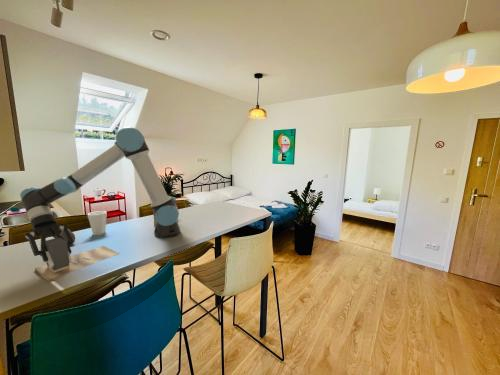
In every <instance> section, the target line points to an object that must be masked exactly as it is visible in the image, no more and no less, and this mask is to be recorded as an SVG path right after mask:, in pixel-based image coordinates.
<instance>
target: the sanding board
mask: <svg viewBox="0 0 500 375" xmlns="http://www.w3.org/2000/svg"><path fill="white" fill-rule="evenodd" d="M118 255H120V252H117V251H116V250H113V249H112V248H109V247H106V246H104V245H102V246H99V247H95V248H93V249H90V250H86V251H84V252H80V253H77V254H74V255H70V256H71V258H72V260H71V262H70V263H69V264H70V267H69V268H66V269H63V270H60V271H58V272H55V273H54V272H53V271H52V270H50V269H49V268H48V267H47V263H45V264H42V265H40V266H37V267H34V271H35V272H36V273H37V274H38V275H39V276H41V277H42V278H43V279H44V280H45V281H46V282H48V283H51V282H54V281H55V280H54V279H55V278H57V277H61V276H64V275H66V274H69V273H70V272H71V273H72V272H74V271H77V270H79V269H82V268H85V267H87V266H91V265H93V264H95V263H98V262H101V261H104V260H106V259H109V258H112V257H115V256H118Z"/></svg>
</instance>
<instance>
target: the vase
mask: <svg viewBox="0 0 500 375" xmlns="http://www.w3.org/2000/svg"><path fill="white" fill-rule="evenodd" d="M67 229H68V231H69V233H70V236H71V238H72V240H73V244H74V243H75V241H76V235H75V233H74V232H72V231H71V229H69V228H67ZM59 234H60V235H61V236H62V237H63V238H64V239H65V241H67V240H66V238H65V236H64V234H63V231H61V232H60V233H59ZM67 243H68V242H67Z"/></svg>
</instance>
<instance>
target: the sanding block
mask: <svg viewBox="0 0 500 375" xmlns="http://www.w3.org/2000/svg"><path fill="white" fill-rule="evenodd" d="M44 242H45V244H46V251H45V252H48V251H49V254H50V256H51V259H52V261H53V263H54V267H53V268H52V269H50V267H49V264H48V262H47V261H46V262H45V263H46V264H47V267H48V268H49V269H50V270H52V271H53V272H54V273H55V272H58V271H60V270H63V269H66V268H69V267H70V264H69V255H68V246H67V241H65V240H63V239H61V238H52V239H48V240H46V241H44Z"/></svg>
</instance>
